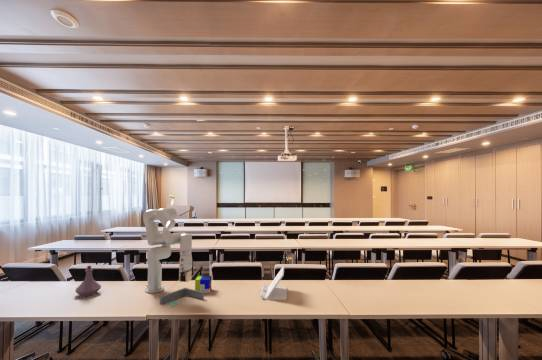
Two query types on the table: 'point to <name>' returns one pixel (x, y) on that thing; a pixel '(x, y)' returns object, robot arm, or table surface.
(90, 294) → the flask
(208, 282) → the puzzle toy
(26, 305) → the table surface
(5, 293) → the table surface
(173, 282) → the table surface
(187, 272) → the birch block
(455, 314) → the table surface
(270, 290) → the tablet stand
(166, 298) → the arena
